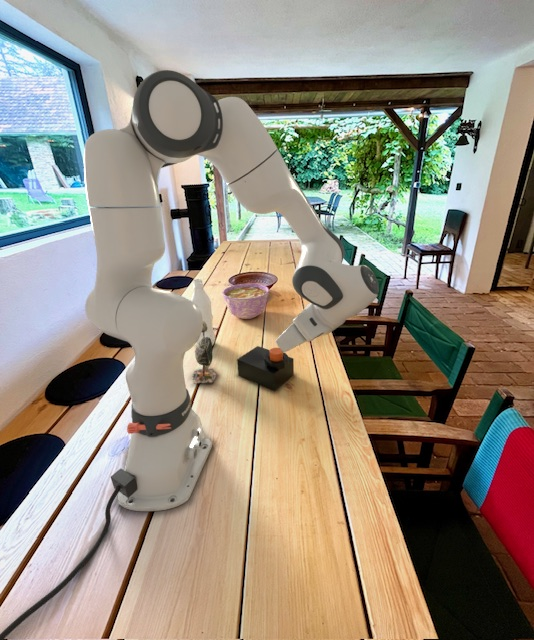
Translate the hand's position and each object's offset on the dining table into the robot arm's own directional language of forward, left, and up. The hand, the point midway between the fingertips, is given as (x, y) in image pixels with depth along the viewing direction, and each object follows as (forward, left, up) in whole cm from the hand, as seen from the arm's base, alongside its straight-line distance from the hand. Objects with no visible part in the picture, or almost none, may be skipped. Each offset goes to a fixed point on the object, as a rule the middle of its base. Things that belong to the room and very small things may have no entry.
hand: (289, 340), depth 88 cm
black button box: (+6, +7, -15) cm, 18 cm away
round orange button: (+3, +4, -7) cm, 9 cm away
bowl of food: (+53, +15, -15) cm, 57 cm away
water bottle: (+27, +29, -15) cm, 42 cm away
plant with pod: (+7, +26, -15) cm, 31 cm away
